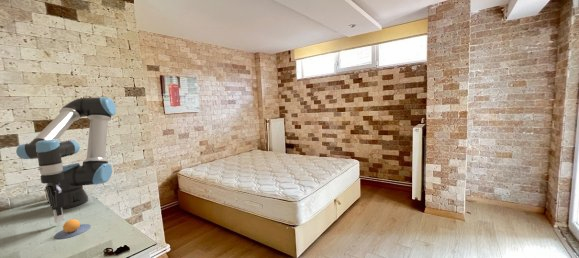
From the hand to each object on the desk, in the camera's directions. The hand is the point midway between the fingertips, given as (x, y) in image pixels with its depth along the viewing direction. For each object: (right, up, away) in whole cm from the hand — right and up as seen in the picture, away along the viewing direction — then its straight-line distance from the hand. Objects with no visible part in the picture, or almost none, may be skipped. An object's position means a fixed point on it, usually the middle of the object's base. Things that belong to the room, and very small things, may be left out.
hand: (59, 221), depth 110 cm
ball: (+12, +1, -7) cm, 14 cm away
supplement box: (-33, 0, +32) cm, 46 cm away
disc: (+13, -2, -6) cm, 14 cm away
